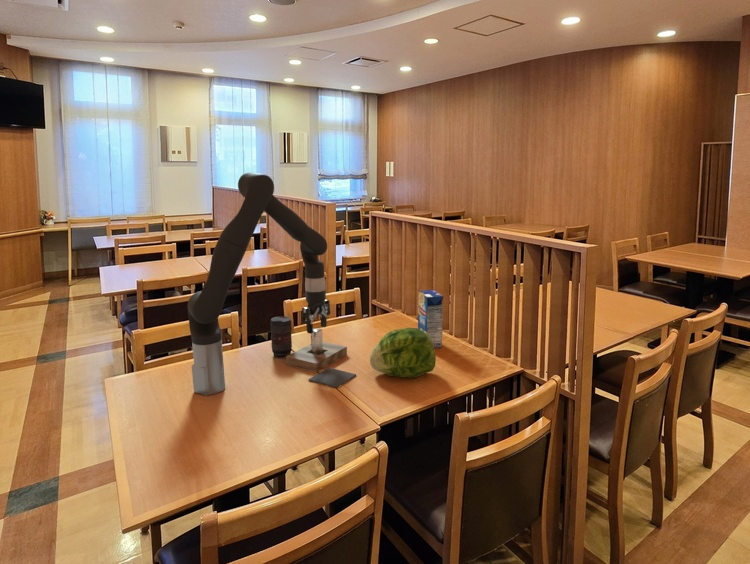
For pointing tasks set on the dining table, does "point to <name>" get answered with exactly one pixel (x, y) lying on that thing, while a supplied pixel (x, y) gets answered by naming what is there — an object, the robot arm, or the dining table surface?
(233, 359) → the dining table surface
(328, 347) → the holder
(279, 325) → the camera lens
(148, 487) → the dining table surface
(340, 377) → the mat
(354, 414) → the dining table surface
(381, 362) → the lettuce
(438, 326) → the beverage box
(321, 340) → the canister
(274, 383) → the dining table surface
